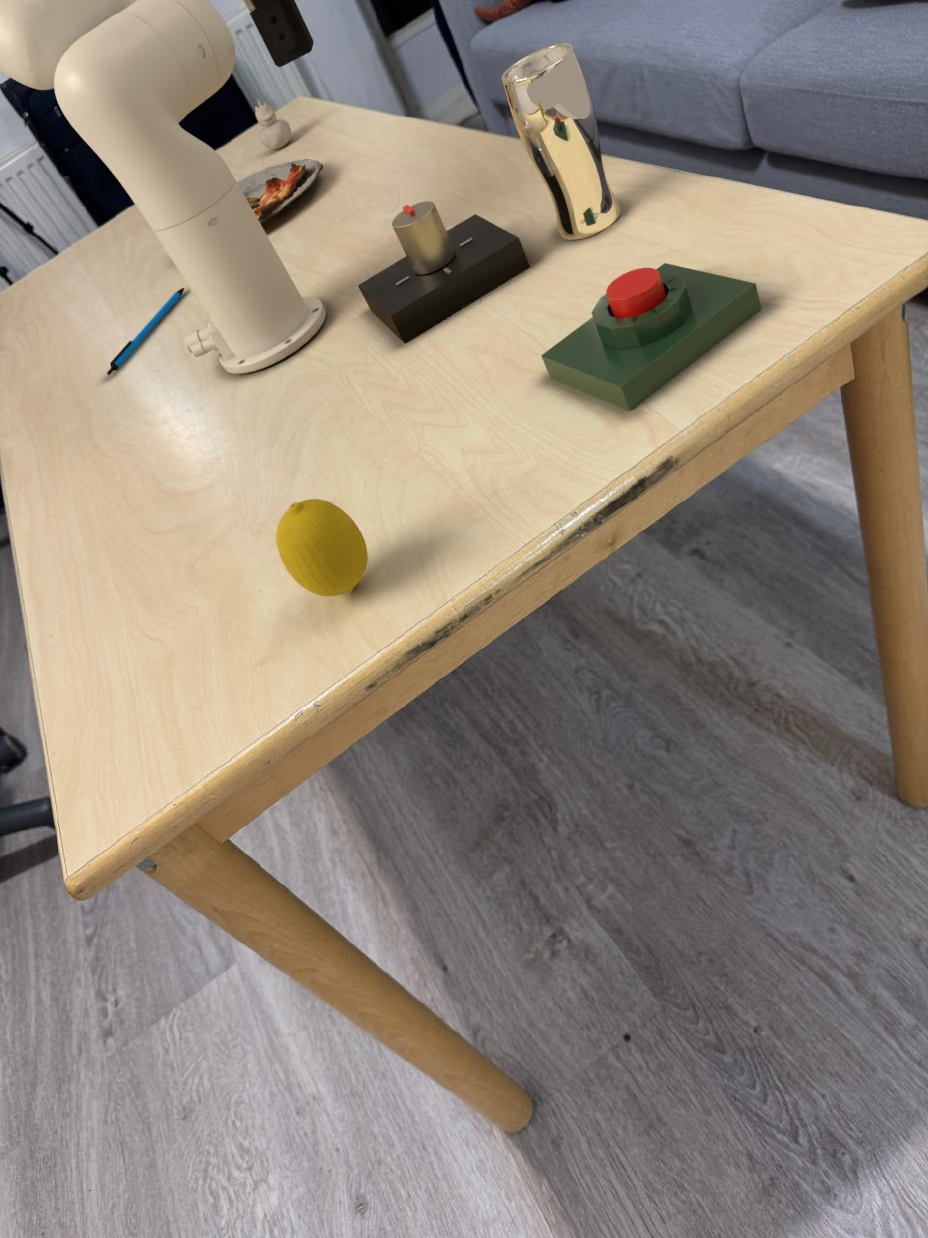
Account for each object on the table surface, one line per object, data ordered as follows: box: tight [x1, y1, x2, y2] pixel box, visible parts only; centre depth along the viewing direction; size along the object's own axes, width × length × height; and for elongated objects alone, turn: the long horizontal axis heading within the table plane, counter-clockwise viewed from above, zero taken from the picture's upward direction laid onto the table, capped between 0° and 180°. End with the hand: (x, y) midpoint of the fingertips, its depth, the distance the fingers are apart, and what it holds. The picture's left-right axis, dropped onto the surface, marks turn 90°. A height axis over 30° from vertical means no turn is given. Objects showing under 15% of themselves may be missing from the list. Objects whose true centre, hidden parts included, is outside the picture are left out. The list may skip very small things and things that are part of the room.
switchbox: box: [541, 262, 762, 412], centre depth 73 cm, size 13×10×4 cm
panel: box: [357, 213, 531, 344], centre depth 96 cm, size 14×11×3 cm
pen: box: [106, 287, 185, 376], centre depth 124 cm, size 1×19×1 cm, turn 160°
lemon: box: [275, 498, 369, 597], centre depth 66 cm, size 6×6×8 cm
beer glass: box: [500, 42, 622, 241], centre depth 89 cm, size 7×7×15 cm
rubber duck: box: [254, 98, 292, 150], centre depth 161 cm, size 5×7×8 cm
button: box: [605, 267, 666, 318], centre depth 72 cm, size 4×4×2 cm
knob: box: [391, 200, 455, 275], centre depth 93 cm, size 4×4×5 cm
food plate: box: [236, 158, 324, 225], centre depth 141 cm, size 25×23×4 cm
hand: (296, 55), depth 75 cm, fingers closed
